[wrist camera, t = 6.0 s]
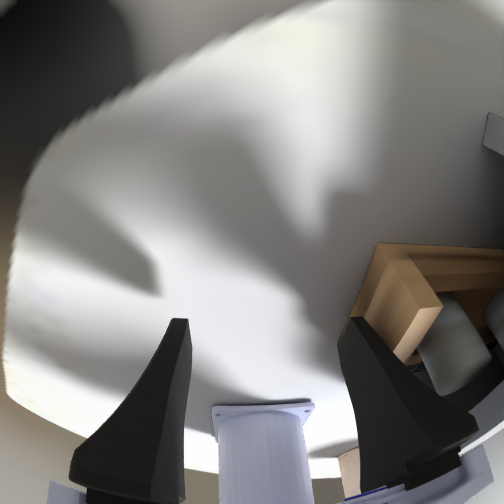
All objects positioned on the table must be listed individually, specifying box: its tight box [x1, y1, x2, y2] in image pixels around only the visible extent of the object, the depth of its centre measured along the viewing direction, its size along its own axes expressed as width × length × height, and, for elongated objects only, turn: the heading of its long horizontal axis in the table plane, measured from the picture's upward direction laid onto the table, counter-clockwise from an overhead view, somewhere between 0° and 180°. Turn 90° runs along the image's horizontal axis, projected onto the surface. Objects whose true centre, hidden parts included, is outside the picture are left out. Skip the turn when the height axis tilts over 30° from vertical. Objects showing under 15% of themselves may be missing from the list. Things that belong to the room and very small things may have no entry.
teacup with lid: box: [338, 447, 387, 501], centre depth 30 cm, size 12×9×12 cm
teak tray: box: [337, 243, 504, 396], centre depth 12 cm, size 7×16×6 cm, turn 86°
